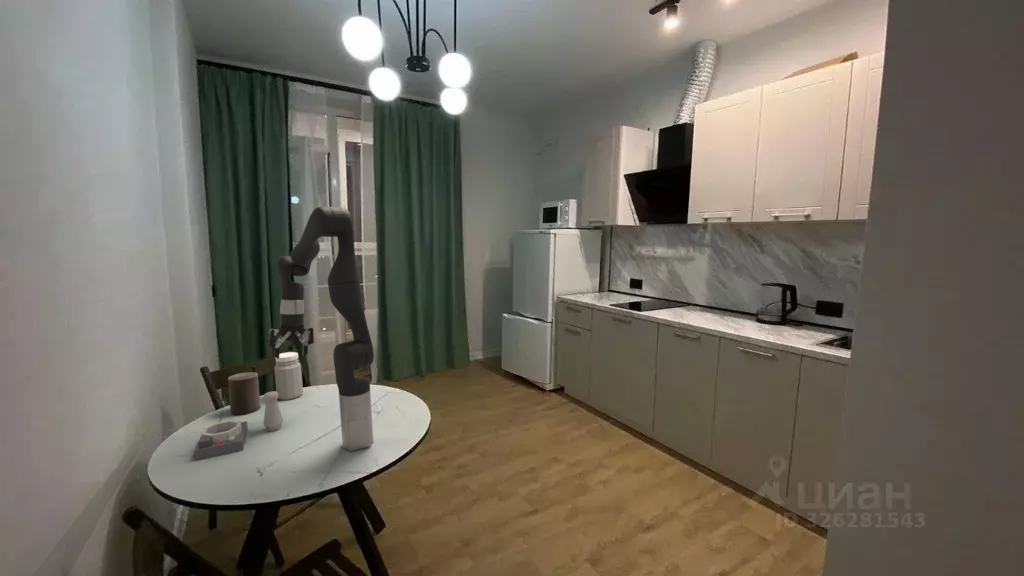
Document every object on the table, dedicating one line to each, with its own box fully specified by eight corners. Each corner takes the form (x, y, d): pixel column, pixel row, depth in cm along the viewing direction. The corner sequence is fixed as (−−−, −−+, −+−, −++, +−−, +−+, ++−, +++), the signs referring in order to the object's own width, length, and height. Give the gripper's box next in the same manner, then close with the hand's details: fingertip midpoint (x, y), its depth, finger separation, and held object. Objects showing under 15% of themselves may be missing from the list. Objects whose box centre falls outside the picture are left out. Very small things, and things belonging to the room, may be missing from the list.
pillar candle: (240, 417, 151) (237, 378, 149) (225, 412, 155) (221, 374, 153) (266, 407, 159) (263, 370, 158) (250, 403, 164) (247, 367, 162)
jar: (297, 390, 177) (293, 350, 175) (307, 395, 171) (304, 353, 169) (272, 397, 170) (269, 355, 168) (282, 402, 164) (278, 359, 161)
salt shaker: (268, 434, 137) (265, 397, 135) (261, 429, 140) (257, 393, 139) (286, 427, 142) (283, 391, 140) (279, 423, 145) (276, 388, 143)
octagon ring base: (243, 449, 127) (241, 433, 126) (195, 460, 121) (193, 442, 120) (247, 429, 141) (246, 414, 140) (205, 437, 135) (203, 422, 134)
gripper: (271, 313, 138) (270, 361, 139) (316, 312, 147) (315, 357, 148) (267, 311, 144) (266, 356, 144) (311, 310, 153) (309, 353, 154)
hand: (291, 356), depth 146 cm, fingers open, 8 cm apart
